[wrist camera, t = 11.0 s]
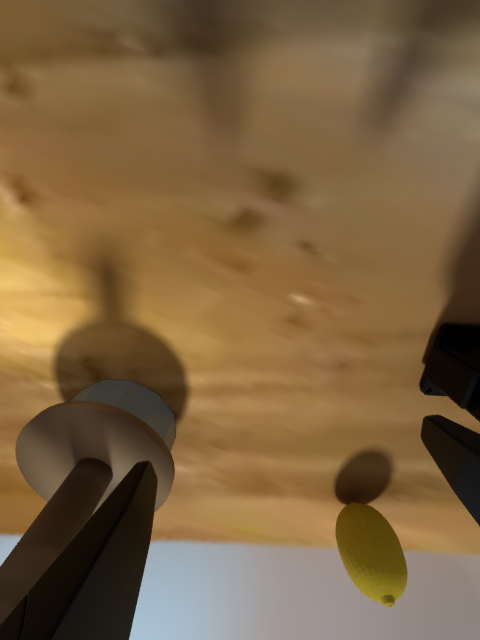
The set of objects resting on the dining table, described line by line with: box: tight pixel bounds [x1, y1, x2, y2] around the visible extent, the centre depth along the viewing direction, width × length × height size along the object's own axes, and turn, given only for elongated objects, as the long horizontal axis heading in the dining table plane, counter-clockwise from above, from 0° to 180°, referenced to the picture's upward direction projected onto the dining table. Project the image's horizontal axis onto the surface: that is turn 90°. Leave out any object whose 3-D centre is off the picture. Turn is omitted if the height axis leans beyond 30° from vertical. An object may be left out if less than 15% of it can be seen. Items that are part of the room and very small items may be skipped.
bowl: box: [70, 379, 176, 452], centre depth 23 cm, size 10×10×4 cm
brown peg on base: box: [0, 401, 175, 624], centre depth 15 cm, size 12×12×12 cm
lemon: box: [336, 501, 407, 607], centre depth 24 cm, size 6×6×8 cm
